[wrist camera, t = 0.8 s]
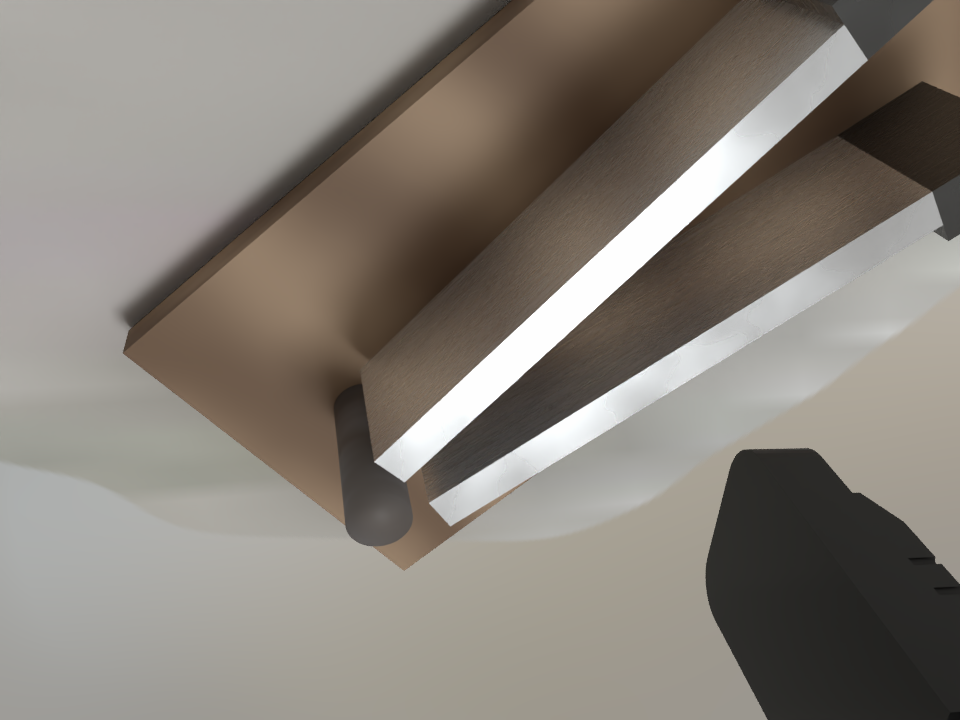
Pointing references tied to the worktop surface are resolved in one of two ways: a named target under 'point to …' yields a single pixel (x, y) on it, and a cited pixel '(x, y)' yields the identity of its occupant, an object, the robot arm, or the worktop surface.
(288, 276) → the tong rest
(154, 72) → the worktop surface
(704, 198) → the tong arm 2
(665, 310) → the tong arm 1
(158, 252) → the worktop surface
